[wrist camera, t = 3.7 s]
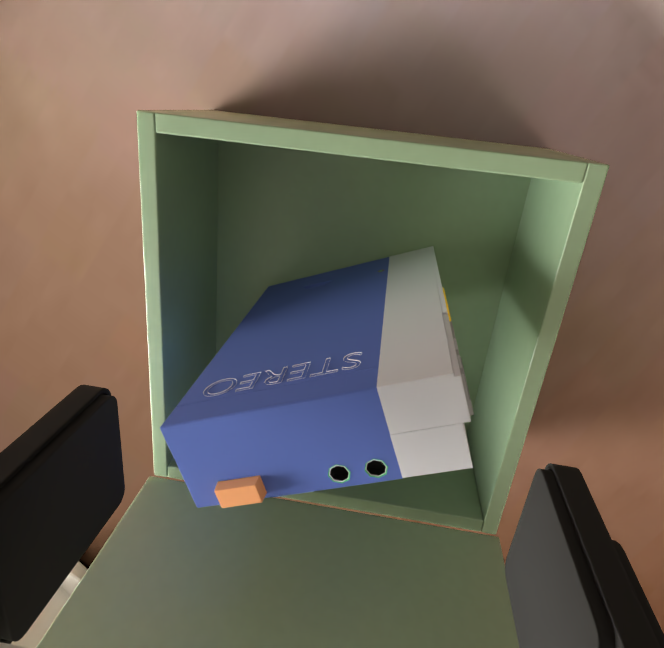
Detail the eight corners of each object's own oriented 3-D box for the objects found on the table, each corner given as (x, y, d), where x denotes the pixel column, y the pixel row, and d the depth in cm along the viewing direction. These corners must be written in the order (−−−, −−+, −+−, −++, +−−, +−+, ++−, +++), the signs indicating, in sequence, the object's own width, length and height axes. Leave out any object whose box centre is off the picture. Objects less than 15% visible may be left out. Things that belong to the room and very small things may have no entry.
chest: (210, 109, 22) (135, 110, 16) (549, 148, 21) (610, 165, 15) (208, 394, 27) (153, 475, 21) (474, 437, 26) (496, 535, 20)
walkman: (286, 338, 25) (192, 519, 14) (267, 285, 24) (152, 435, 13) (448, 303, 23) (488, 479, 12) (435, 244, 22) (466, 377, 11)
